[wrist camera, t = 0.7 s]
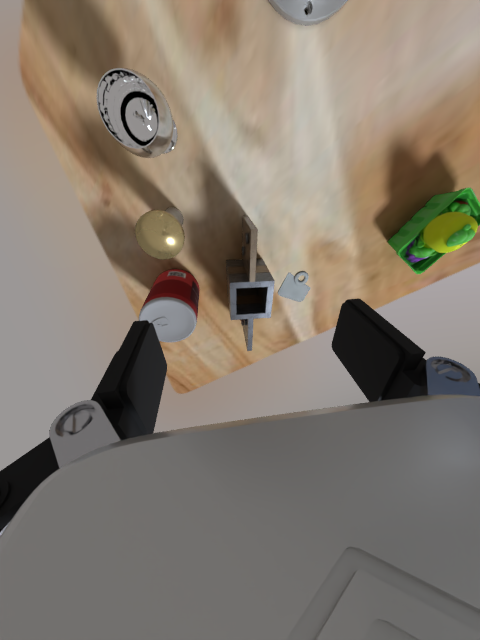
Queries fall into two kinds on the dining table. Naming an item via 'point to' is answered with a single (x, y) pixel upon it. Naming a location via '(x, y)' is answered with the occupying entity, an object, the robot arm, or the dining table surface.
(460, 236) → the fruit basket
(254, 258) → the hinge leaf
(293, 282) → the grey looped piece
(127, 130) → the wineglass
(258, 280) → the hinge leaf
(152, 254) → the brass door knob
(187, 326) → the canned food
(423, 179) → the dining table surface
